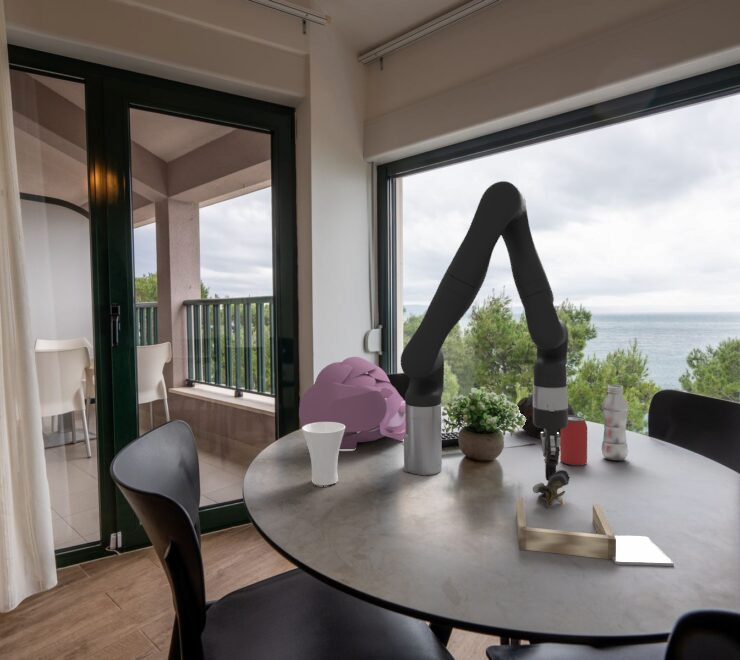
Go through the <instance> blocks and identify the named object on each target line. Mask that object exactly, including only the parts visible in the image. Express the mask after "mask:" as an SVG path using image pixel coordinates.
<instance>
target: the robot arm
mask: <svg viewBox="0 0 740 660" xmlns="http://www.w3.org/2000/svg"><path fill="white" fill-rule="evenodd" d="M526 204H527V203H526V197H525V196H524V194H523V193H522V192H521V190H520V189H519V188H518V187H517V186H516V185H515V184H513V183H512V182H509V181H506V180H502V181H496V182H494V183H493V184H491V185H489V186H488V188H487V189H485V191H484V192H483V194H482V195H481V198H480V200H479V203H478V205H477V207H476V210H475V213H474V216H473V218H472V220H471V222H470V226H469V228H468V230H467V232H466V234H465V236H464V238H463V239H462V241H461V242H460V243H461V244H460V245H459V247H458V249H457V250H456V252H455V253H454V254H455V255H454V256H453V258H452V260H451V262H450V263H449V265H448V267H447V268H446V271H445V273H444V274H443V277H442V278H441V280H440V282H439V284H438V286H437V289H436V291H435V293H434V295H433V297H432V299H431V301H430V303H429V305H428V308H427V309H426V312H425V313H424V314H425V315H423V318H422V320H421V323H420V324H419V325H418V327H417V329H416V330H415V332H414V333H413V335H412V336H411V338H410V339H409V341H408V342H407V343H406V346H405V347H404V349H403V350H402V353H401V355H400V367H401V371H402V372H403V373H404V375H405V376H407V377H408V378H409V384H408V388H407V390H406V391H405V394H404V395H405V396H404V401H405V426H406V433H405V434H404V441H403V471H404V472H405V473H411V474H414V475H421V476H427V475H428V476H430V475H435V474H439V473H440V472H441V471H442V470H443V469H442V464H443V461H442V458H443V457H442V454H443V453H442V452H443V451H442V448H443V447H442V440H443V439H442V396H443V392H444V385H445V384H444V380H445V378H444V376H445V375H444V374H445V359H444V354H443V351H442V347H443V345H444V343H445V341H446V339H447V337H448V336H449V334H450V333H451V331H452V330H453V329H454V327H455V326H456V325H457V324H458V323H459V322H460V320H461V319H462V318H463V317H464V315H466V313H467V312H468V310H469V309H470V308H471V306H472V304H473V303H474V301H475V299H476V298H477V295H478V294H479V292H480V291H481V288H482V287H483V285H484V281H485V279H486V277H487V274H488V270H489V266H490V263H491V258H492V254H493V252H494V249H495V247H496V245H497V243H498V240H499V239H500V237H501V239H503V242H504V245H505V247H506V249H507V253H508V258H509V263H510V268H511V273H512V278H513V281H514V285H515V287H516V290H517V294H518V296H519V299H520V301H521V305H522V306H523V309H524V315H525V320H526V326H527V330H528V333H529V336H530V338H531V341H532V342H533V344H534V345H535V346H536V360H535V362H534V365H533V390H532V395H533V424H534V425H535V426H536V427H539V428H544V432H541V438H540V439H541V451H542V455H543V461H544V464H545V465H544V467H545V468H544V472H545V473H544V474H545V475H544V476H545V480H546V481H547V482H548V480H549V477H550V476H551V475H552V474H554V473H556V472H557V466H558V465H559V458H560V445H561V436H559V433H557V430H558V429H563V428H566V427H567V426H568V403H569V396H568V394H569V393H568V389H567V388H568V387H567V385H568V384H567V383H568V382H567V355H568V347H569V345H568V344H569V330H568V327H567V325H566V323H565V322H564V321H563V320H561V319H560V318H559V316H558V313H557V310H556V307H555V304H554V300H555V297H554V293H553V291H552V287H551V284H550V282H549V279H548V276H547V274H546V271H545V269H544V266H543V263H542V260H541V258H540V256H539V253H538V250H537V248H536V245H535V243H534V238H533V235H532V231H531V227H530V224H529V223H530V222H529V215H528V210H527V205H526Z"/></svg>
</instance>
